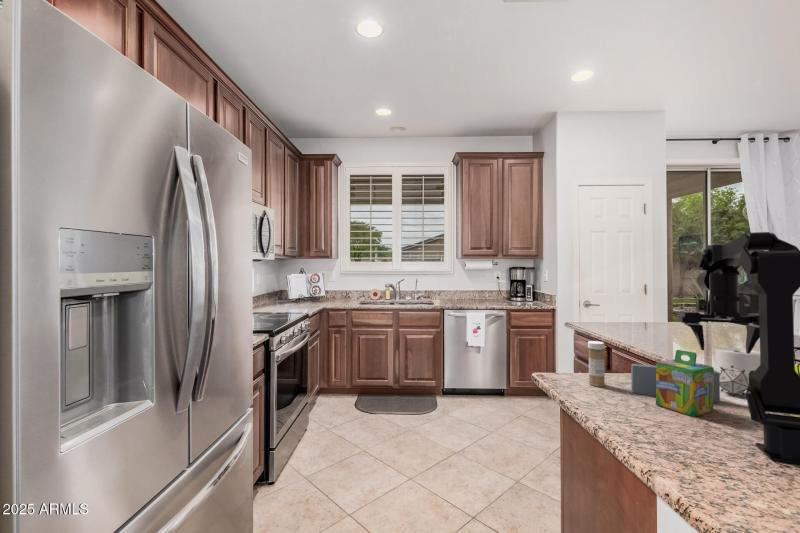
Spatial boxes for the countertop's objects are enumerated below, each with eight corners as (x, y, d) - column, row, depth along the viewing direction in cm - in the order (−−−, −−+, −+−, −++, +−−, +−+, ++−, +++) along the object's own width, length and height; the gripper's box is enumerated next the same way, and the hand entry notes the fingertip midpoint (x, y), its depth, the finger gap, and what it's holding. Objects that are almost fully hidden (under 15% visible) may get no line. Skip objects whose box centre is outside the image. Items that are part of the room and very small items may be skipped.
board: (719, 402, 98) (719, 372, 98) (633, 393, 106) (632, 365, 106) (716, 399, 100) (715, 370, 100) (631, 390, 108) (631, 363, 108)
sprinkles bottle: (603, 383, 115) (603, 341, 115) (605, 388, 111) (605, 343, 111) (587, 382, 117) (587, 340, 117) (589, 386, 113) (588, 342, 113)
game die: (742, 409, 103) (768, 387, 97) (710, 396, 105) (734, 375, 99) (730, 385, 110) (754, 364, 104) (700, 374, 112) (723, 353, 106)
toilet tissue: (707, 376, 122) (707, 346, 122) (748, 378, 120) (747, 347, 120) (731, 386, 111) (730, 354, 111) (776, 388, 109) (775, 355, 109)
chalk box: (654, 405, 97) (654, 349, 97) (675, 400, 100) (674, 346, 101) (695, 418, 88) (694, 357, 88) (715, 411, 92) (714, 353, 92)
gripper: (758, 291, 99) (759, 349, 98) (673, 290, 107) (674, 343, 107) (777, 293, 89) (778, 357, 88) (682, 292, 97) (683, 350, 97)
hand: (724, 351), depth 95 cm, fingers open, 9 cm apart
